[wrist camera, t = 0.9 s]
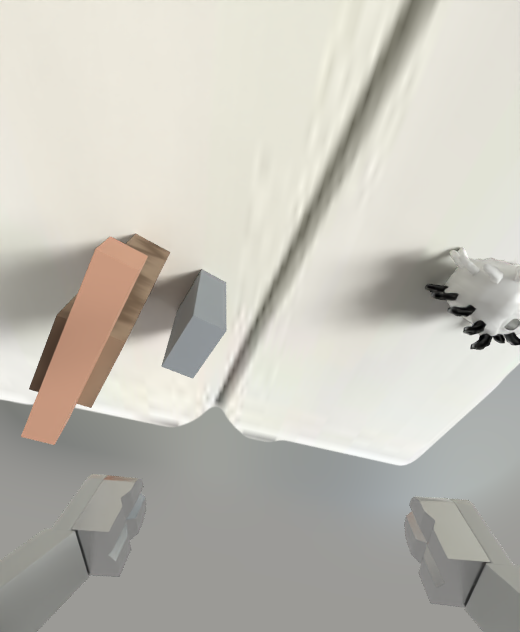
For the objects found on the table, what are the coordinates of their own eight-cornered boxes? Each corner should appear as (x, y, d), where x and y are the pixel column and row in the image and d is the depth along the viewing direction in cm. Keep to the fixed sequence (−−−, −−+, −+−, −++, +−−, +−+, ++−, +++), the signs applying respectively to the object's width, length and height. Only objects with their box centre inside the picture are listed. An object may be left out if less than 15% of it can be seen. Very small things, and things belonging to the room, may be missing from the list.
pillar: (114, 281, 51) (29, 389, 29) (135, 233, 47) (56, 315, 25) (146, 297, 53) (91, 407, 31) (170, 252, 49) (125, 342, 27)
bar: (37, 412, 31) (20, 436, 28) (110, 236, 22) (95, 248, 20) (68, 420, 32) (54, 444, 29) (148, 256, 23) (138, 270, 21)
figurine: (481, 322, 69) (389, 295, 57) (536, 260, 61) (443, 215, 50) (555, 371, 55) (454, 349, 44) (637, 299, 48) (541, 250, 36)
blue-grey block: (177, 311, 55) (161, 366, 42) (201, 269, 51) (193, 315, 38) (200, 321, 57) (193, 378, 43) (226, 282, 53) (226, 330, 40)
